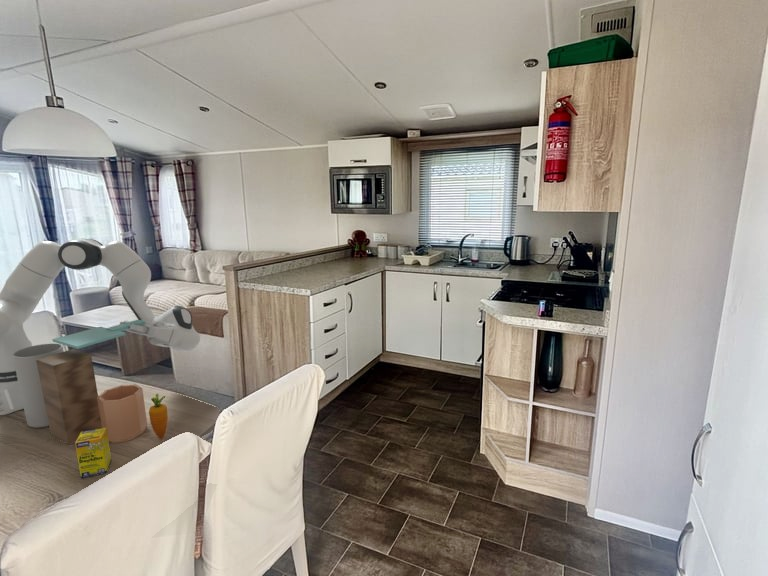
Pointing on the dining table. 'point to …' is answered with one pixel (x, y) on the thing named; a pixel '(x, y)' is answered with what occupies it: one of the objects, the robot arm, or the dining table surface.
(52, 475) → the dining table surface
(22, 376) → the cylinder vase
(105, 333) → the teal flat board
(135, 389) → the peach faceted hollow pot
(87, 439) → the supplement box
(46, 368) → the pedestal
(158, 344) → the robot arm
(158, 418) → the carrot
